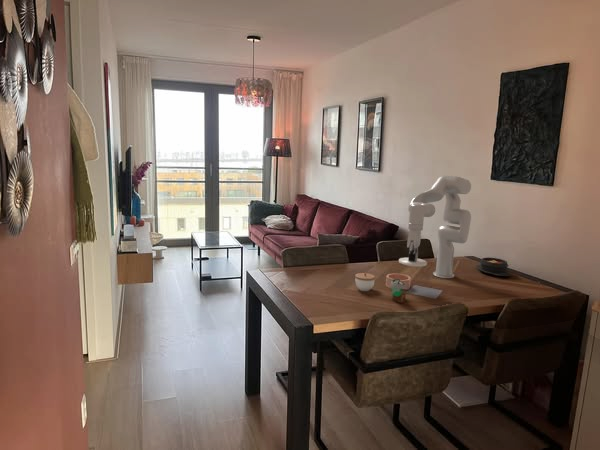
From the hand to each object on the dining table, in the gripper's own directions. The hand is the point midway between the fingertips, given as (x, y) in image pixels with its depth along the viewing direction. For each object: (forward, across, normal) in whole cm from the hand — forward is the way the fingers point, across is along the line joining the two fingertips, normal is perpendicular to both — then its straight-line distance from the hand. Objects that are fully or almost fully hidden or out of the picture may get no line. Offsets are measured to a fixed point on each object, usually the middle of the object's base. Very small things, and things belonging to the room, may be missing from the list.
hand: (412, 259), depth 237 cm
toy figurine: (+18, +21, -2) cm, 27 cm away
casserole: (+18, -66, +36) cm, 77 cm away
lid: (+2, 0, 0) cm, 2 cm away
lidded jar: (+18, +14, -22) cm, 31 cm away
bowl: (+17, 0, -7) cm, 19 cm away
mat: (+17, 0, +8) cm, 19 cm away
